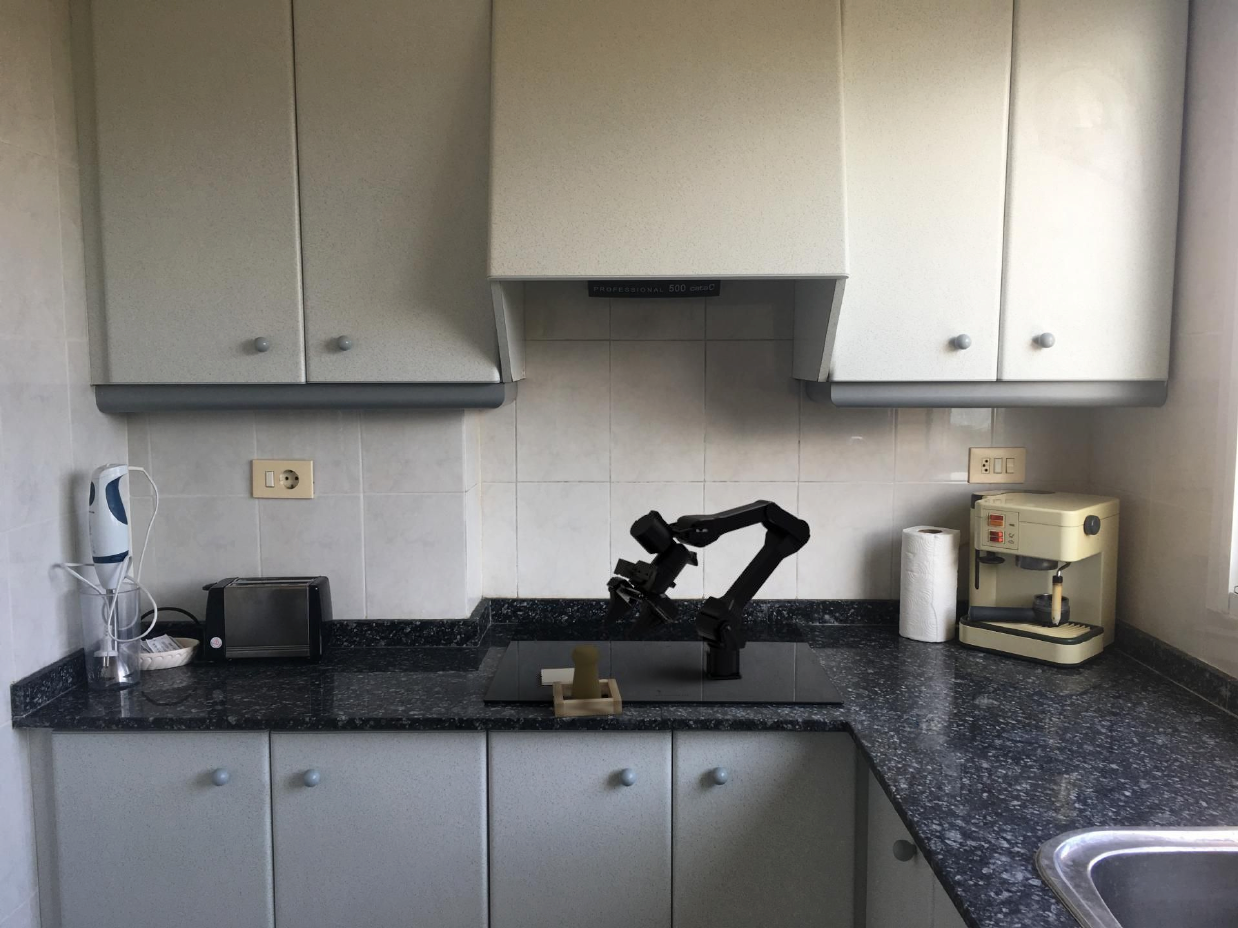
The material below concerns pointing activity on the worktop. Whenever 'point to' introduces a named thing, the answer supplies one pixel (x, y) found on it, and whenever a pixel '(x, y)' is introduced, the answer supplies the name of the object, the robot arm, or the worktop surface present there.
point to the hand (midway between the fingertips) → (615, 632)
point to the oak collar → (587, 700)
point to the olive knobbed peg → (585, 673)
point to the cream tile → (556, 675)
